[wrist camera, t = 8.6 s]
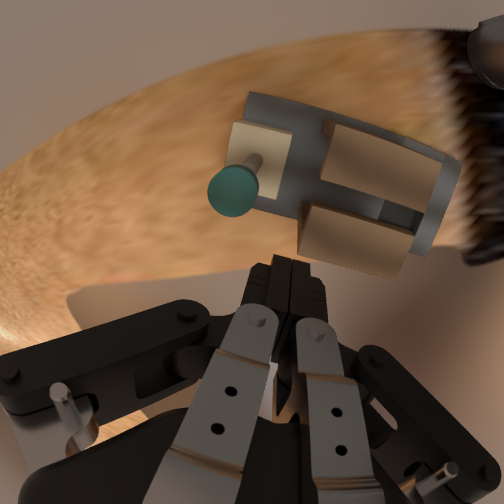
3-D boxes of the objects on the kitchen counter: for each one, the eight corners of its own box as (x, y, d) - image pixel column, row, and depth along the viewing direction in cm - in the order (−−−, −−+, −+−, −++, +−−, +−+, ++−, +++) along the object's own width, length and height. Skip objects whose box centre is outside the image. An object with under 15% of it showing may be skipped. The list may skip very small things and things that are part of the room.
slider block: (242, 119, 34) (196, 133, 19) (293, 131, 34) (289, 153, 19) (230, 175, 37) (181, 230, 22) (278, 187, 37) (263, 252, 22)
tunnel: (252, 92, 35) (228, 85, 22) (454, 159, 34) (512, 188, 22) (229, 195, 41) (199, 239, 29) (420, 249, 41) (457, 306, 28)
